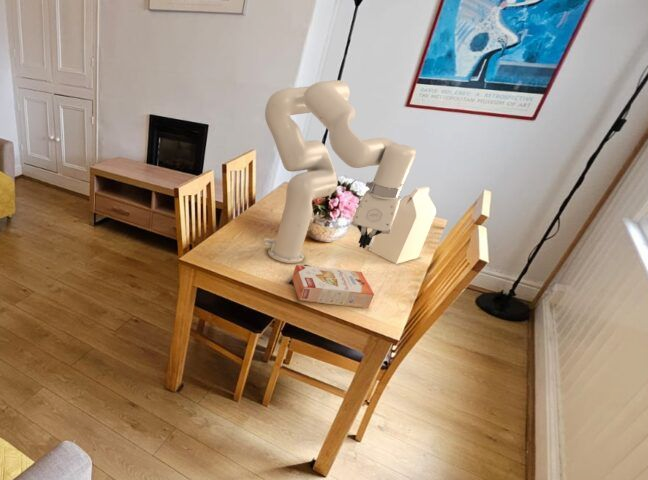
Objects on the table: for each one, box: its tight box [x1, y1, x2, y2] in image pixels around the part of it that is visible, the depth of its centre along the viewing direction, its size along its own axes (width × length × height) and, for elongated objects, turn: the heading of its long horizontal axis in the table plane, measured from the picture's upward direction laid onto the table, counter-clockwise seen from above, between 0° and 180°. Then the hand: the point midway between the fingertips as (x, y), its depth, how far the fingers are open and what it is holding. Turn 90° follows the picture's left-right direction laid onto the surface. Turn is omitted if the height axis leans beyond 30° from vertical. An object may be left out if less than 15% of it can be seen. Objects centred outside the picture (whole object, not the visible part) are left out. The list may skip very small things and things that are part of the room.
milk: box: [368, 185, 437, 265], centre depth 163 cm, size 12×12×26 cm
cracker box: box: [291, 264, 375, 309], centre depth 145 cm, size 14×6×21 cm
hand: (362, 246), depth 140 cm, fingers closed
